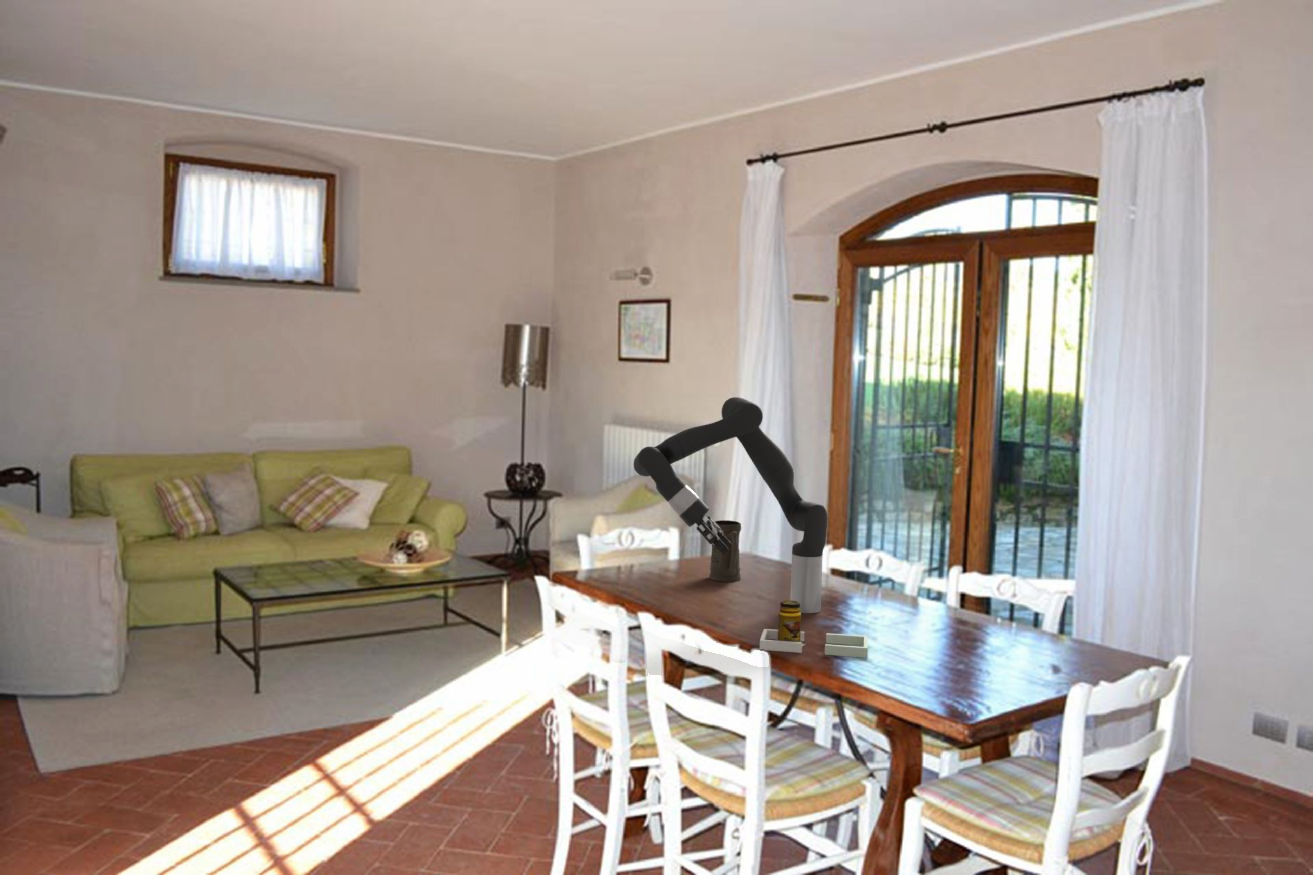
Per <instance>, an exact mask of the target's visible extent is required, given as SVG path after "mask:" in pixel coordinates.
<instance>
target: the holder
mask: <svg viewBox="0 0 1313 875" xmlns="http://www.w3.org/2000/svg"><path fill="white" fill-rule="evenodd" d="M800 636H801V637H800V642H789V641H775V640H776V639H778V629H772V628H764V629H763V631H762V633H761V636H760V639H759V650H760V649H764V650H763V651H771V652H772V651H774V652H775V651H776V652H785V653H800V654H802V653H803V652H802V651H803V646H802V644H803V642H804V641H805V631H803V630H802V631H801V633H800Z"/></svg>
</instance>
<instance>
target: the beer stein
mask: <svg viewBox="0 0 1313 875" xmlns="http://www.w3.org/2000/svg"><path fill="white" fill-rule="evenodd" d="M713 521H714V520H713ZM714 522H715V523H716V524H717V525H718V526H719V527H720V528H721V529H722V532H723V535H724V536H725V537H726V538H727V539H728V540H729V541H730V542H731V543H732V545H731V546H730V547H729V548H728V549H729V550H728V552H726V553H725V554H724V555H723V554H722V553H721V552H720V551H719V550H718V549H717V548H716V547H715V546H714V545H715V544H714V545H712V544H711V556H710V567H709V569H710V570H709V571H710V573H709V576H708V577H709V579H710V580H711V581H716V582H724V583H726V582H730V583H733V582H738V581H740V580H741V579H742V578H741V577H742V576H741V566H740V532H741V531H742V523H740V522H739V521H736V520H725V519H724V520H715V521H714Z"/></svg>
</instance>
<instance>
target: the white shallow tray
mask: <svg viewBox="0 0 1313 875" xmlns="http://www.w3.org/2000/svg"><path fill="white" fill-rule="evenodd" d="M825 635H826V638H825V639H826V640H825V644H824V655H825V656H826V655H827V656H840V657H852V658H853V657H855V658H863V659H864V658H865V659H866V658H868V657H869V656H868V655H869V648H868V647H869V644H868V643H869V642H868V641H869V640H868V639H869V637H868V635H856V634H841V633H828V632H827V633H826V634H825Z"/></svg>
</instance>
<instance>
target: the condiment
mask: <svg viewBox="0 0 1313 875" xmlns="http://www.w3.org/2000/svg"><path fill="white" fill-rule="evenodd" d="M779 605H780V607H779V611H778V620H777V621H778V622H777V630H778V639H776V640H775V639H774V640H775V641H789V642H801V641H800V637H801V636H800V633H801V630H802V629H801V628H802V627H801V626H802V623H801V622H802V613H800V603H799V602H797V601H791V600H789V599H788V600H783V601H782V600H781V601H780V603H779ZM804 646H806V643H802V647H804Z"/></svg>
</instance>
